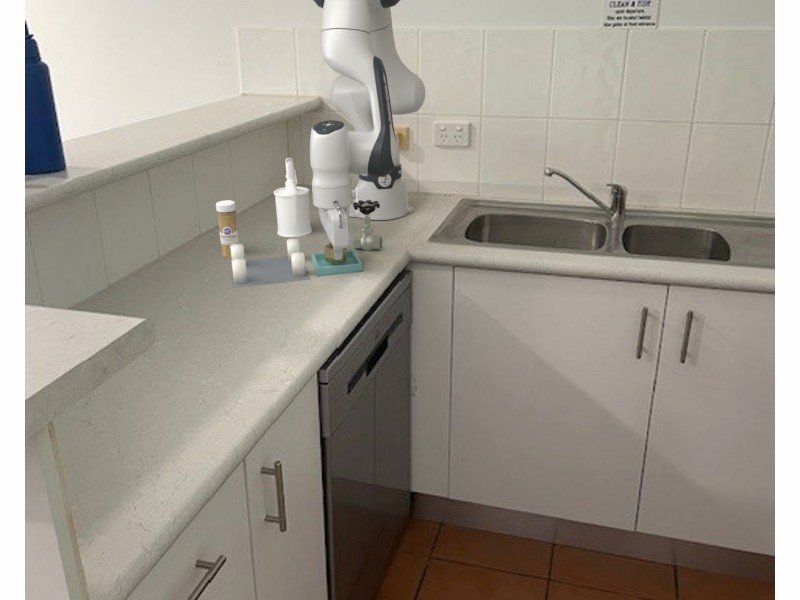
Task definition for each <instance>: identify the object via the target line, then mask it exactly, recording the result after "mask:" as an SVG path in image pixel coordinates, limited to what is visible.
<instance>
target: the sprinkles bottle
mask: <svg viewBox="0 0 800 600" xmlns="http://www.w3.org/2000/svg"><path fill="white" fill-rule="evenodd" d="M215 209H216V213H217V219H218V227H219V229H218V230H219V238H220V240H219V241H220V244H221V245H220V247H221V256H222V257H224V258H232V257H231V249H230V246H231V245H232V244H240V239H239V230H238V221H237V213H236V211H237V207H236V202H235V201H234V200H230V199H228V200H227V199H225V200H220V201H217V202H216V203H215Z"/></svg>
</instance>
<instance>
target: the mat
mask: <svg viewBox="0 0 800 600" xmlns="http://www.w3.org/2000/svg"><path fill="white" fill-rule="evenodd" d="M245 260H246V269H247V278H248V282H247V283H244V284H235V283H234V278H233V269H232V261H229V265H230V278H231V287H232V288H233V289H234V288H241V287H242V288H243V287H253V286H261V285H269V284H280V283H288V282H289V283H290V282H298V281H300V282H301V281H307V280H308V281H310V280H311V278H310V276H309V275H310V274H309V272H308V269H307V267H306V265H305V268H306V275H305V276H303V277H294V276H293V273H292V262H289V261H288V255H286V256H285V255H284V256H275V257H265V258H255V259H245Z"/></svg>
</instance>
